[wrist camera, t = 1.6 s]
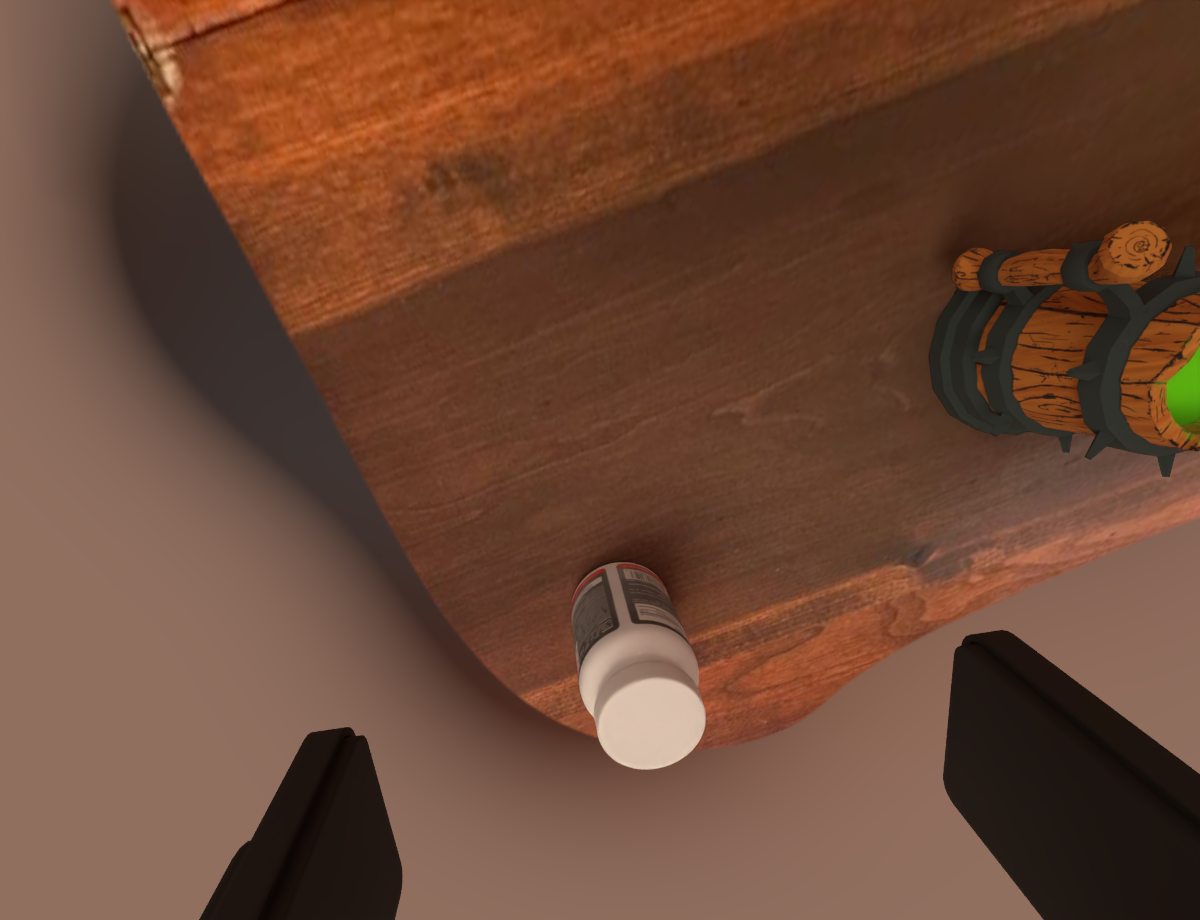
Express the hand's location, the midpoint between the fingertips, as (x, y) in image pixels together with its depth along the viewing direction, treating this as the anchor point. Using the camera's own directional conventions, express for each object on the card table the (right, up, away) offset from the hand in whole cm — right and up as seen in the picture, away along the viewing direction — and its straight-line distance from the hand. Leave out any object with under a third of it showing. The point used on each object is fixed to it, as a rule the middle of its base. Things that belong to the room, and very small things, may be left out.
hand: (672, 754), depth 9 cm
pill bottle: (0, -4, +25) cm, 25 cm away
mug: (+20, +12, +22) cm, 32 cm away
